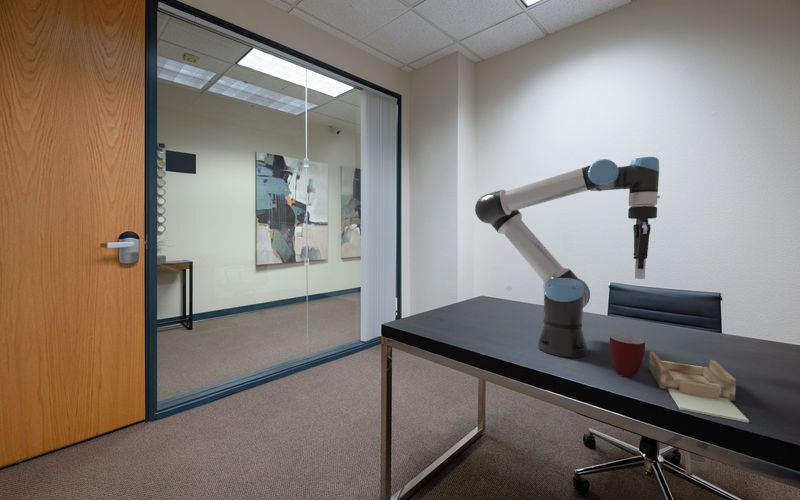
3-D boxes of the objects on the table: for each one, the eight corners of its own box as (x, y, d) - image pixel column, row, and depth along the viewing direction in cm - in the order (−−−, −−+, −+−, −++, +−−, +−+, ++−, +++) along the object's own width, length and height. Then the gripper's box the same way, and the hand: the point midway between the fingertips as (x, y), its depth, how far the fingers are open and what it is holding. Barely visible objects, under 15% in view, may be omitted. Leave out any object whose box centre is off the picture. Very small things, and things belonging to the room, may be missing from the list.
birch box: (660, 387, 84) (661, 367, 83) (649, 368, 95) (650, 351, 95) (734, 401, 77) (736, 379, 77) (713, 379, 89) (714, 360, 88)
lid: (680, 411, 73) (680, 395, 73) (667, 392, 82) (668, 377, 82) (748, 425, 68) (749, 407, 68) (727, 403, 77) (728, 387, 77)
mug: (600, 363, 99) (602, 331, 98) (631, 366, 97) (633, 333, 96) (614, 379, 88) (616, 342, 88) (649, 382, 86) (651, 345, 86)
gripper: (662, 204, 99) (658, 282, 100) (652, 207, 111) (649, 276, 112) (631, 205, 103) (628, 280, 104) (625, 208, 114) (622, 275, 115)
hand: (639, 278), depth 108 cm, fingers closed
